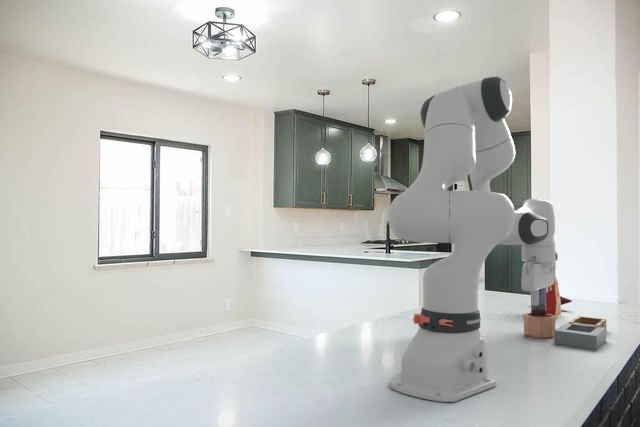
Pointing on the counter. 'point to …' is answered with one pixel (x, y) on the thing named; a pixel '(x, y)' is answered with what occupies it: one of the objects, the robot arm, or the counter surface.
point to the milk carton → (553, 300)
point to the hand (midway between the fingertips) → (538, 303)
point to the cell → (541, 308)
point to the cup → (539, 325)
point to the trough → (589, 321)
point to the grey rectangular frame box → (580, 335)
